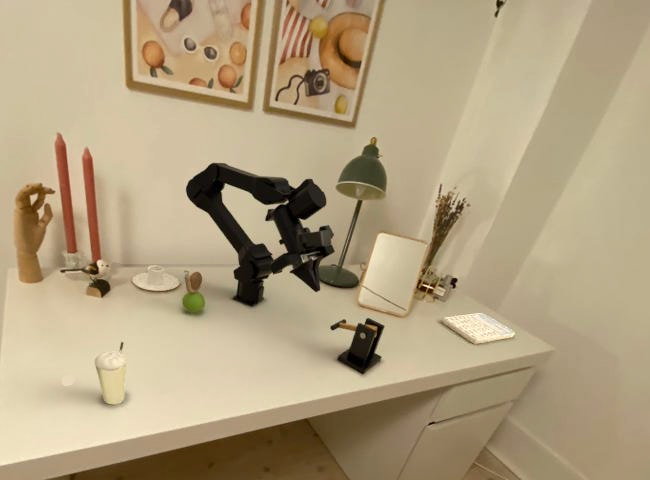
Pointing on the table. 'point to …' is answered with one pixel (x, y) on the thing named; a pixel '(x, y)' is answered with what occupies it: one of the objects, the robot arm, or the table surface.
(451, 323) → the calculator
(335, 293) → the table surface
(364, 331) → the bracket
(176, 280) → the candle holder
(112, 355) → the milkshake
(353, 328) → the lever
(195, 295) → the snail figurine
